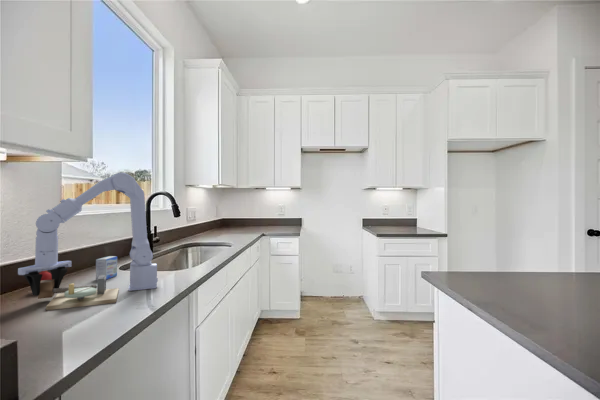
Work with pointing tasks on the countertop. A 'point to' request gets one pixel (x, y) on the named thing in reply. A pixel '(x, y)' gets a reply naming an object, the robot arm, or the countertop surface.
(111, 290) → the board
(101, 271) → the medicine box
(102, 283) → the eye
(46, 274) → the onion
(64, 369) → the countertop surface
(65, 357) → the countertop surface
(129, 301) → the countertop surface
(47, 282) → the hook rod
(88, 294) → the handwheel
